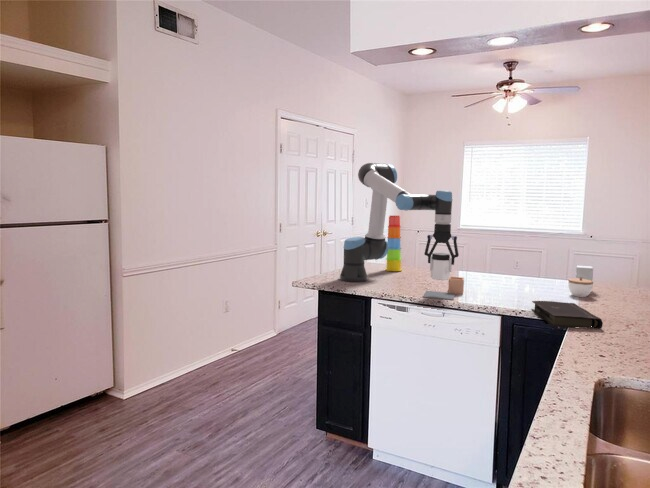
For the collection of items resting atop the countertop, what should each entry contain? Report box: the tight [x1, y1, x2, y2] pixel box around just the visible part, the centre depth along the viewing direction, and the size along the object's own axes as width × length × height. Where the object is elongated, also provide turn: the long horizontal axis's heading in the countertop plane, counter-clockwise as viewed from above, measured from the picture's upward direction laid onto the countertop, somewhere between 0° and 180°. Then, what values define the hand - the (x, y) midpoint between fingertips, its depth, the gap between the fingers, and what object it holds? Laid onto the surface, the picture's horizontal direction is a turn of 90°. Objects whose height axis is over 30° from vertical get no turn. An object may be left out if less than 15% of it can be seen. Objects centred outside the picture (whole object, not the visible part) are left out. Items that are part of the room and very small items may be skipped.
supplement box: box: [575, 265, 594, 292], centre depth 244 cm, size 7×7×13 cm
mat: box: [422, 290, 456, 301], centre depth 226 cm, size 14×14×1 cm
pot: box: [447, 276, 465, 295], centre depth 235 cm, size 7×7×7 cm
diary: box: [531, 300, 604, 329], centre depth 188 cm, size 19×25×5 cm
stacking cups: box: [385, 215, 403, 272], centre depth 293 cm, size 10×10×35 cm
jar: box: [430, 252, 451, 281], centre depth 224 cm, size 9×8×12 cm
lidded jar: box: [568, 277, 594, 298], centre depth 232 cm, size 11×11×9 cm
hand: (440, 270), depth 225 cm, fingers closed on jar, 8 cm apart
